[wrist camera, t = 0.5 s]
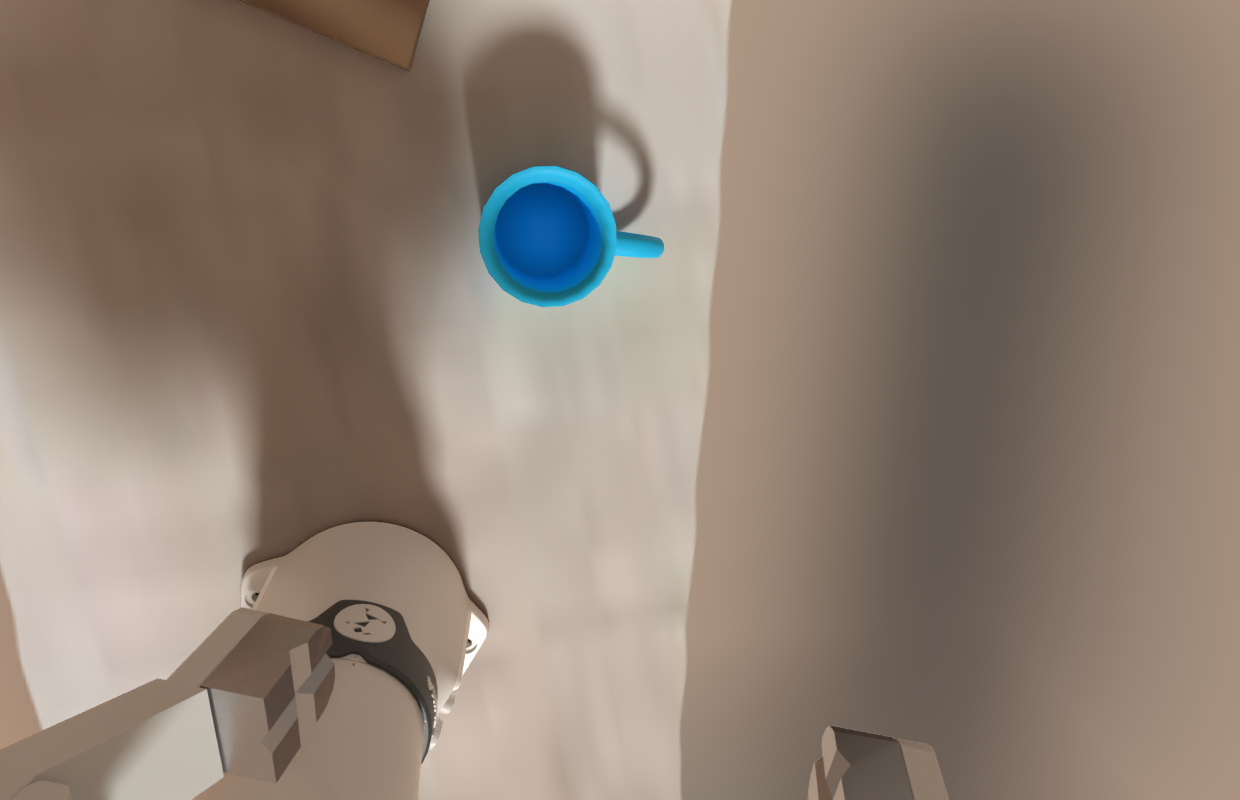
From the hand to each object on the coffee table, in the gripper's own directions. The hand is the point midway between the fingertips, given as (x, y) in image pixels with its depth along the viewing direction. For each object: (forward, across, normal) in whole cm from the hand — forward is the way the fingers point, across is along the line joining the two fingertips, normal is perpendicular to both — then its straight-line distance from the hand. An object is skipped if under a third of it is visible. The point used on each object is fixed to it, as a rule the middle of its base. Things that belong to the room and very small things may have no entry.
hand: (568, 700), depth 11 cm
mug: (+41, -9, -1) cm, 42 cm away
